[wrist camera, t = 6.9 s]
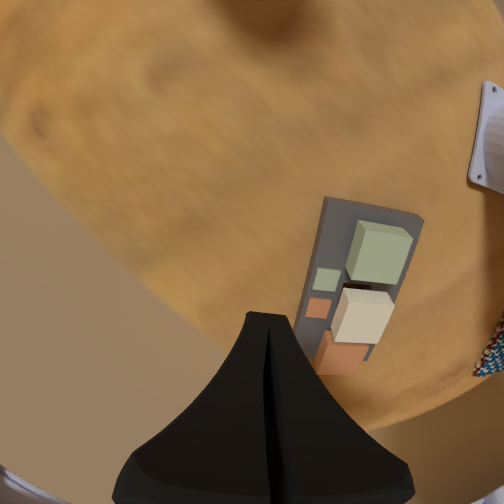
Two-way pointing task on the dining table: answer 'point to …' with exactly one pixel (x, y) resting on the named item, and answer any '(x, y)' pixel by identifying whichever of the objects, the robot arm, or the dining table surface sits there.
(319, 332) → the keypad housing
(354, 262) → the key sage
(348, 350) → the key rust
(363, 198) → the dining table surface
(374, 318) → the cream cube block
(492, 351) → the woven mat
